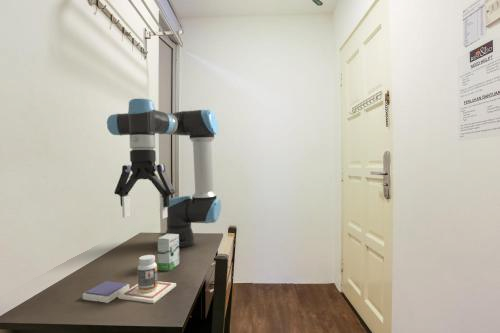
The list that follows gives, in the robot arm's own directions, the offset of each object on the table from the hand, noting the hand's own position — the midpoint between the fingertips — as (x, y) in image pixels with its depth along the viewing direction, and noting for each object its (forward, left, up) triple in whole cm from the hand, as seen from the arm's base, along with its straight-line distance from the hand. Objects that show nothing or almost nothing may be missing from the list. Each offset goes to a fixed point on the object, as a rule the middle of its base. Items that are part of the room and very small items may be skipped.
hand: (145, 217), depth 91 cm
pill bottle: (+2, +2, -22) cm, 22 cm away
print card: (+2, +2, -23) cm, 23 cm away
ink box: (-19, -4, -23) cm, 30 cm away
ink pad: (+6, -10, -23) cm, 25 cm away
